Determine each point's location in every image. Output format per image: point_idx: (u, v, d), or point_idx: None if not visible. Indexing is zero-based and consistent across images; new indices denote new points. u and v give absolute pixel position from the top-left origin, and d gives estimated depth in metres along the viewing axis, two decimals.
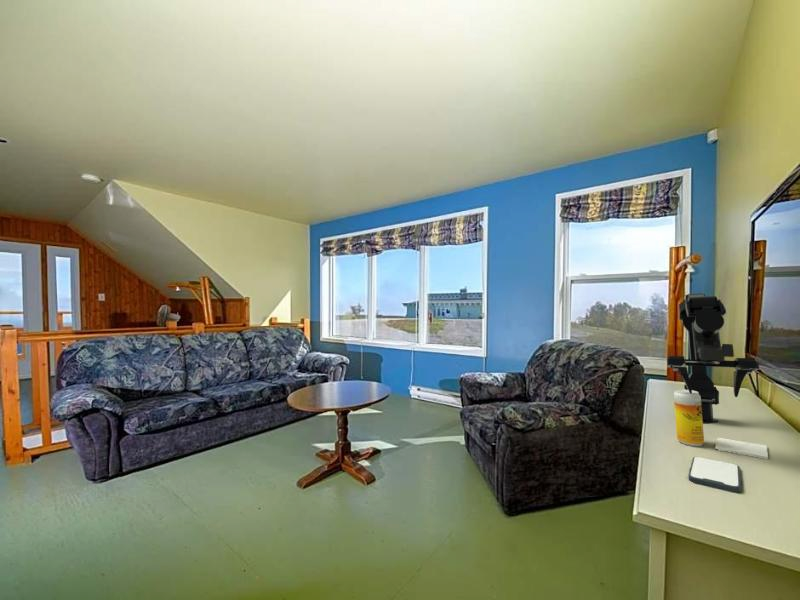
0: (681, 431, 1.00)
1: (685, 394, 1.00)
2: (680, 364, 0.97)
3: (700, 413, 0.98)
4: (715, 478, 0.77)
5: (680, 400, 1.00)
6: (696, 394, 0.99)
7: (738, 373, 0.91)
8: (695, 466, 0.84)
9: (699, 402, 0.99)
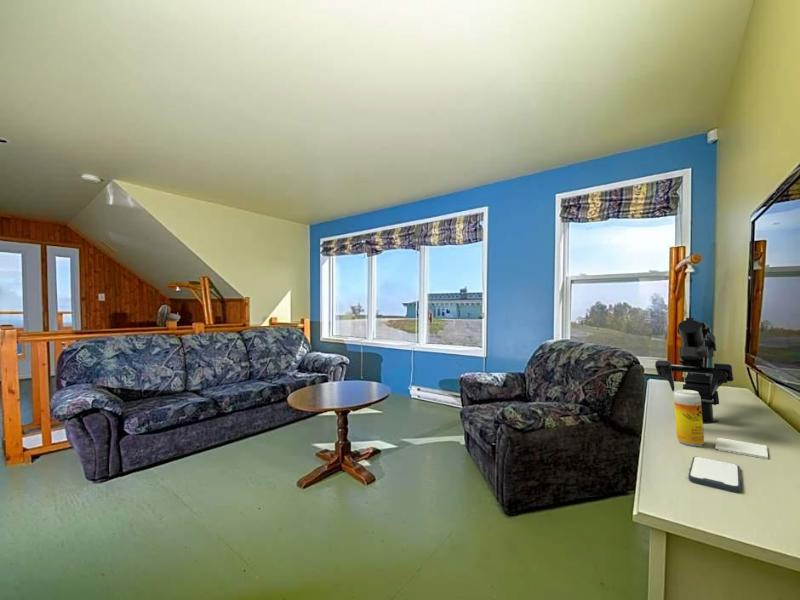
0: (681, 431, 1.00)
1: (685, 394, 1.00)
2: (665, 364, 1.14)
3: (700, 413, 0.98)
4: (715, 478, 0.77)
5: (680, 400, 1.00)
6: (696, 394, 0.99)
7: (714, 374, 1.05)
8: (695, 466, 0.84)
9: (699, 402, 0.99)
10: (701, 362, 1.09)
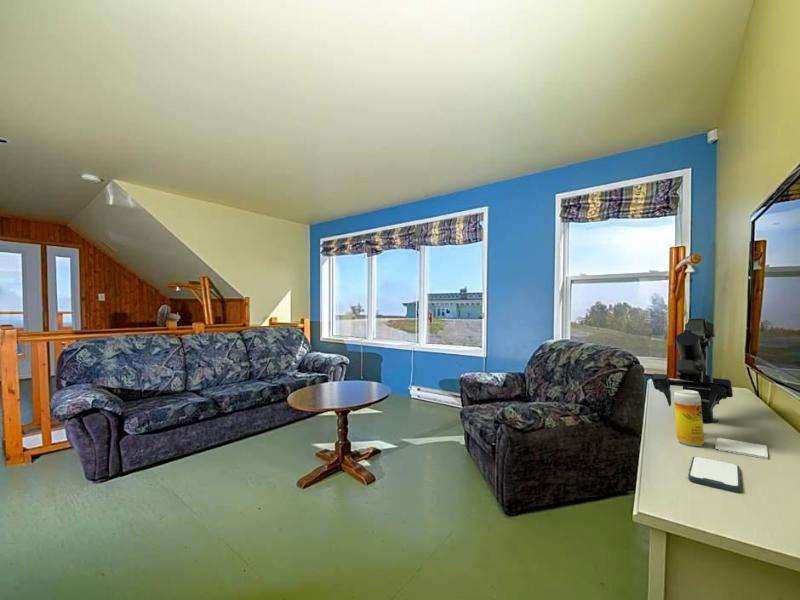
0: (681, 431, 1.00)
1: (685, 394, 1.00)
2: (662, 378, 1.10)
3: (700, 413, 0.98)
4: (715, 478, 0.77)
5: (680, 400, 1.00)
6: (696, 394, 0.99)
7: (712, 389, 1.01)
8: (695, 466, 0.84)
9: (699, 402, 0.99)
10: (699, 376, 1.04)
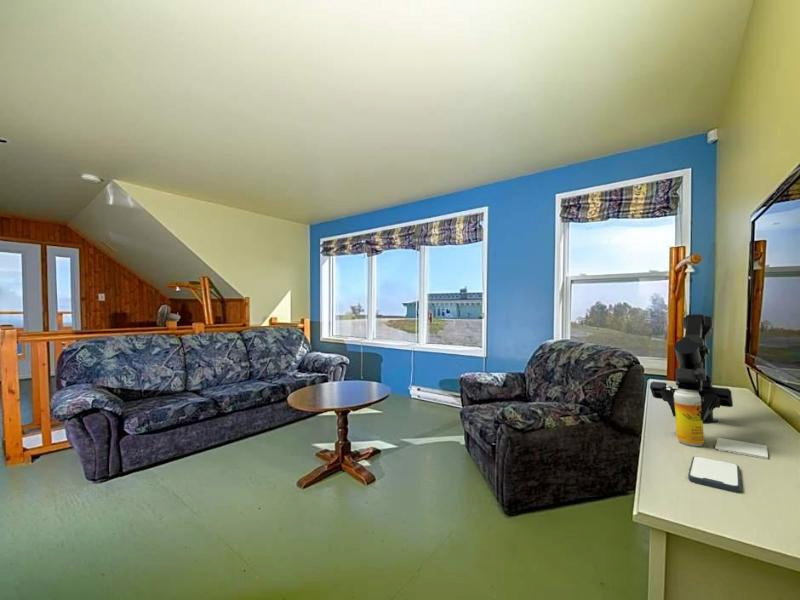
0: (681, 431, 1.00)
1: (685, 394, 1.00)
2: (661, 386, 1.07)
3: (700, 413, 0.98)
4: (715, 478, 0.78)
5: (680, 400, 1.00)
6: (696, 394, 0.99)
7: (705, 398, 0.99)
8: (695, 465, 0.84)
9: (699, 402, 0.99)
10: (698, 385, 1.02)
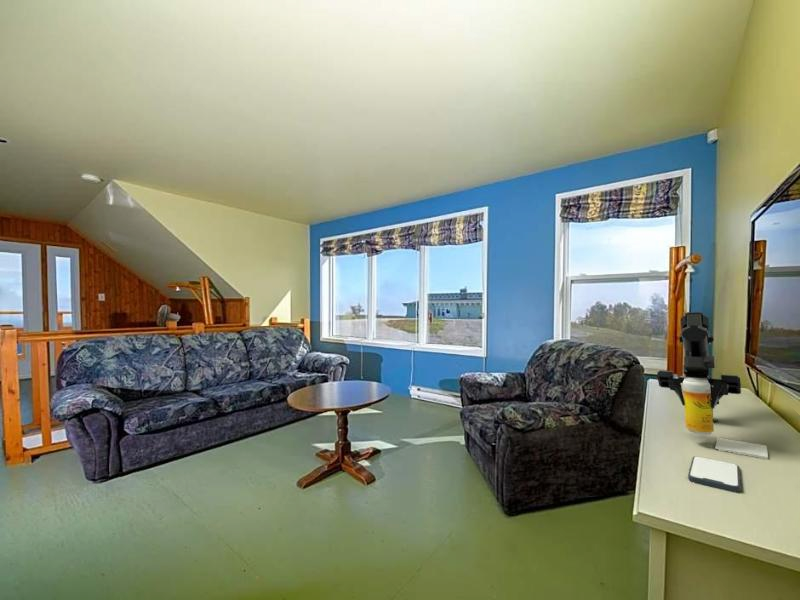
0: (691, 420, 0.99)
1: (695, 382, 0.98)
2: (668, 375, 1.06)
3: (710, 401, 0.97)
4: (714, 478, 0.78)
5: (690, 389, 0.99)
6: (706, 382, 0.98)
7: (714, 385, 0.98)
8: (695, 466, 0.84)
9: (709, 390, 0.97)
10: (707, 373, 1.01)
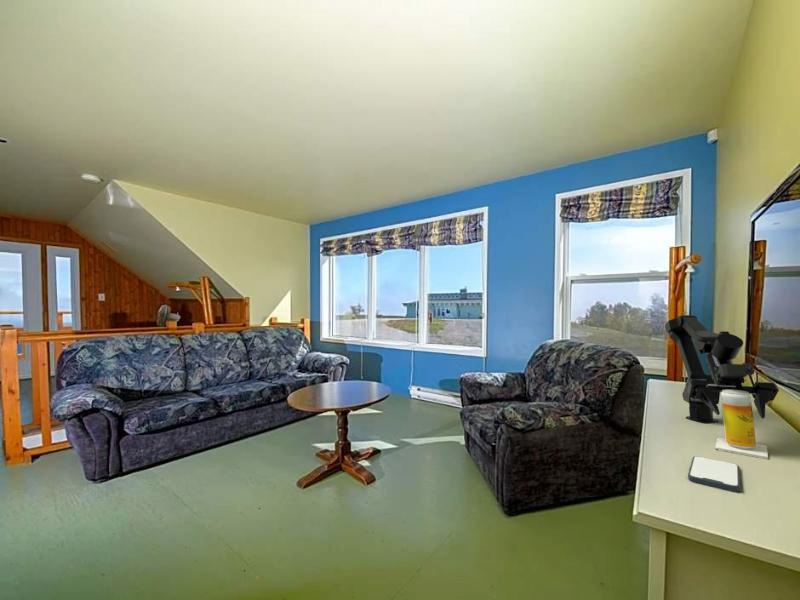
0: (735, 435, 0.94)
1: (739, 395, 0.94)
2: (704, 384, 1.01)
3: (752, 413, 0.94)
4: (714, 477, 0.78)
5: (733, 402, 0.95)
6: (748, 394, 0.94)
7: (760, 394, 0.95)
8: (695, 465, 0.84)
9: (751, 402, 0.94)
10: (742, 381, 0.98)
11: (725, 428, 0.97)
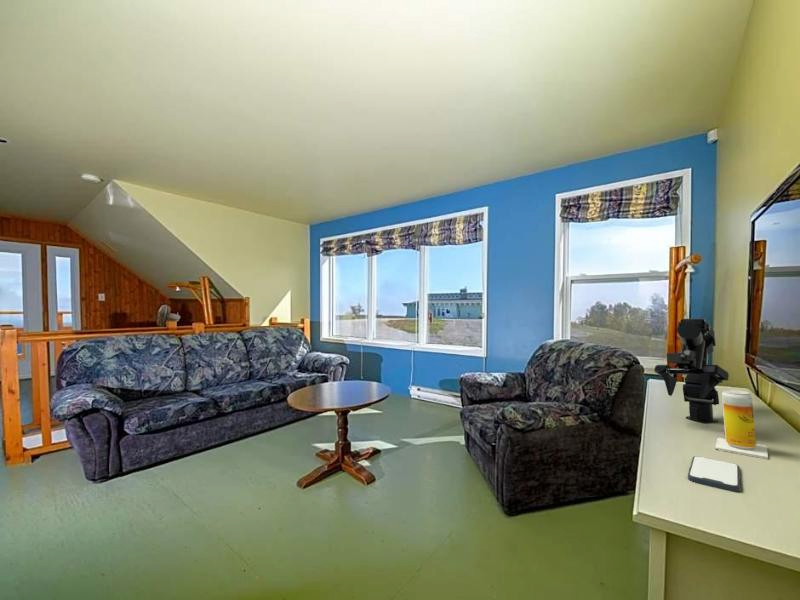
0: (736, 435, 0.94)
1: (740, 395, 0.94)
2: (661, 369, 1.18)
3: None
4: (714, 477, 0.78)
5: (734, 402, 0.94)
6: (749, 394, 0.94)
7: (702, 377, 1.07)
8: (695, 465, 0.84)
9: None
10: (692, 365, 1.10)
11: (725, 428, 0.97)
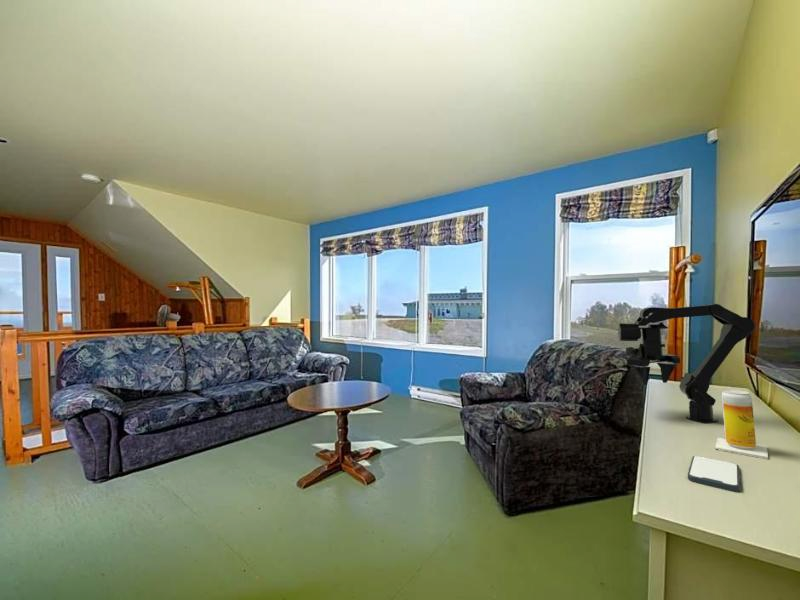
0: (736, 435, 0.94)
1: (740, 395, 0.94)
2: None
3: None
4: (714, 477, 0.78)
5: (734, 402, 0.94)
6: (749, 394, 0.94)
7: None
8: (694, 465, 0.84)
9: None
10: None
11: (725, 428, 0.97)
